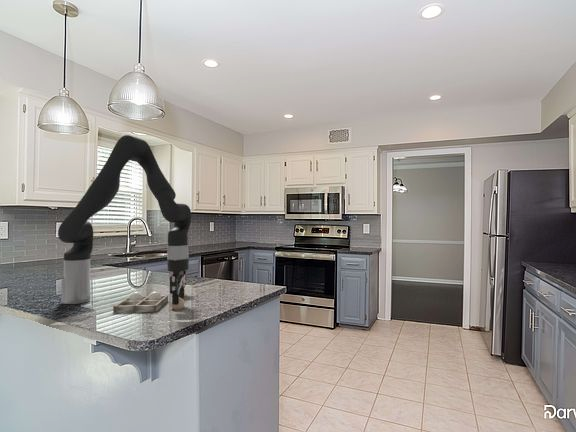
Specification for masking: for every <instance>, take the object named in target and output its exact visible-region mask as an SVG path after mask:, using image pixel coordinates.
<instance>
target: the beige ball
mask: <svg viewBox="0 0 576 432" xmlns="http://www.w3.org/2000/svg"><path fill="white" fill-rule="evenodd" d="M185 303H186V302H185V300H184V298H183V299H182V298H180V297H179V304H178V305H173V304H172V301H171V304H170V305H171V308H172V310H178V311H179V310H183V309H184V308H185V306H186V305H185Z"/></svg>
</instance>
